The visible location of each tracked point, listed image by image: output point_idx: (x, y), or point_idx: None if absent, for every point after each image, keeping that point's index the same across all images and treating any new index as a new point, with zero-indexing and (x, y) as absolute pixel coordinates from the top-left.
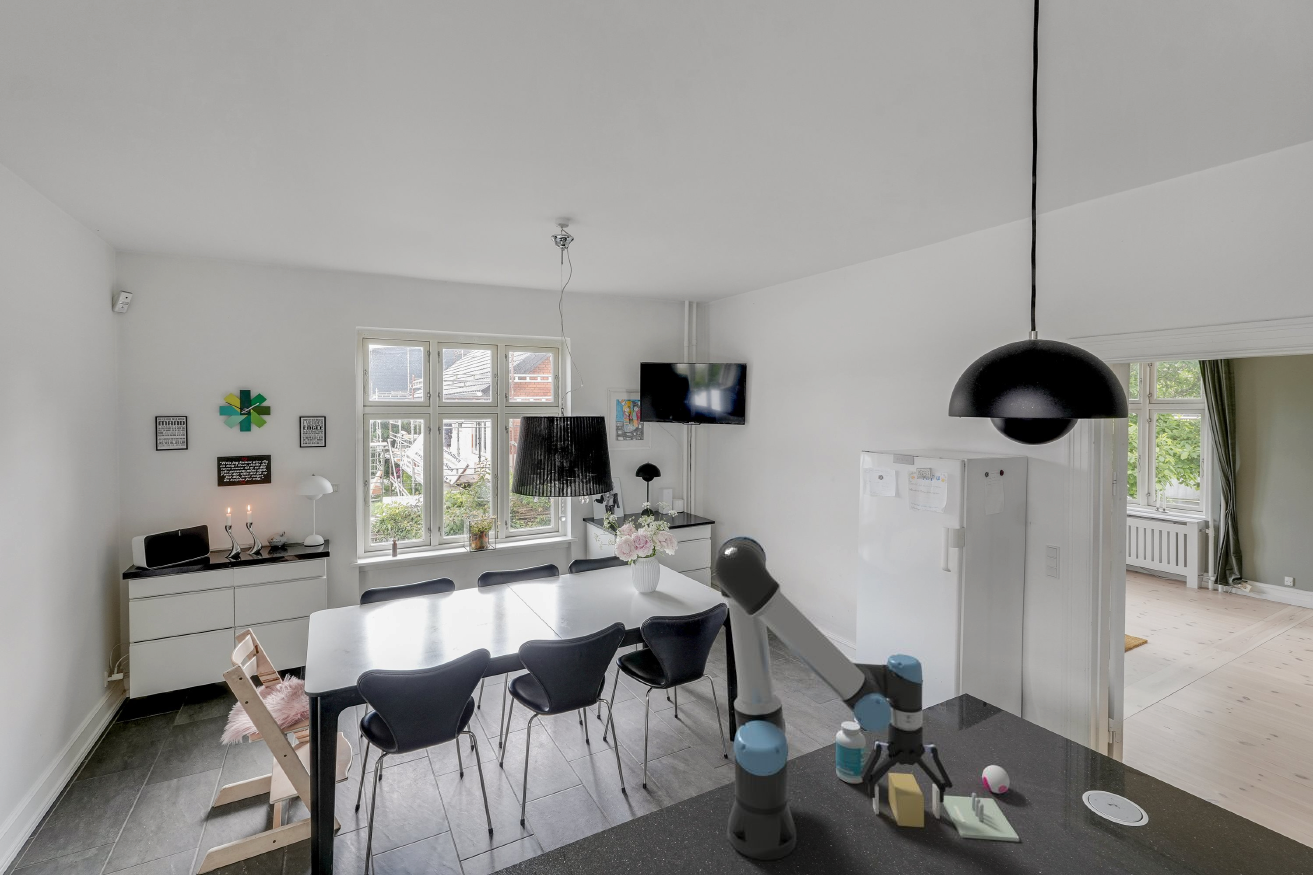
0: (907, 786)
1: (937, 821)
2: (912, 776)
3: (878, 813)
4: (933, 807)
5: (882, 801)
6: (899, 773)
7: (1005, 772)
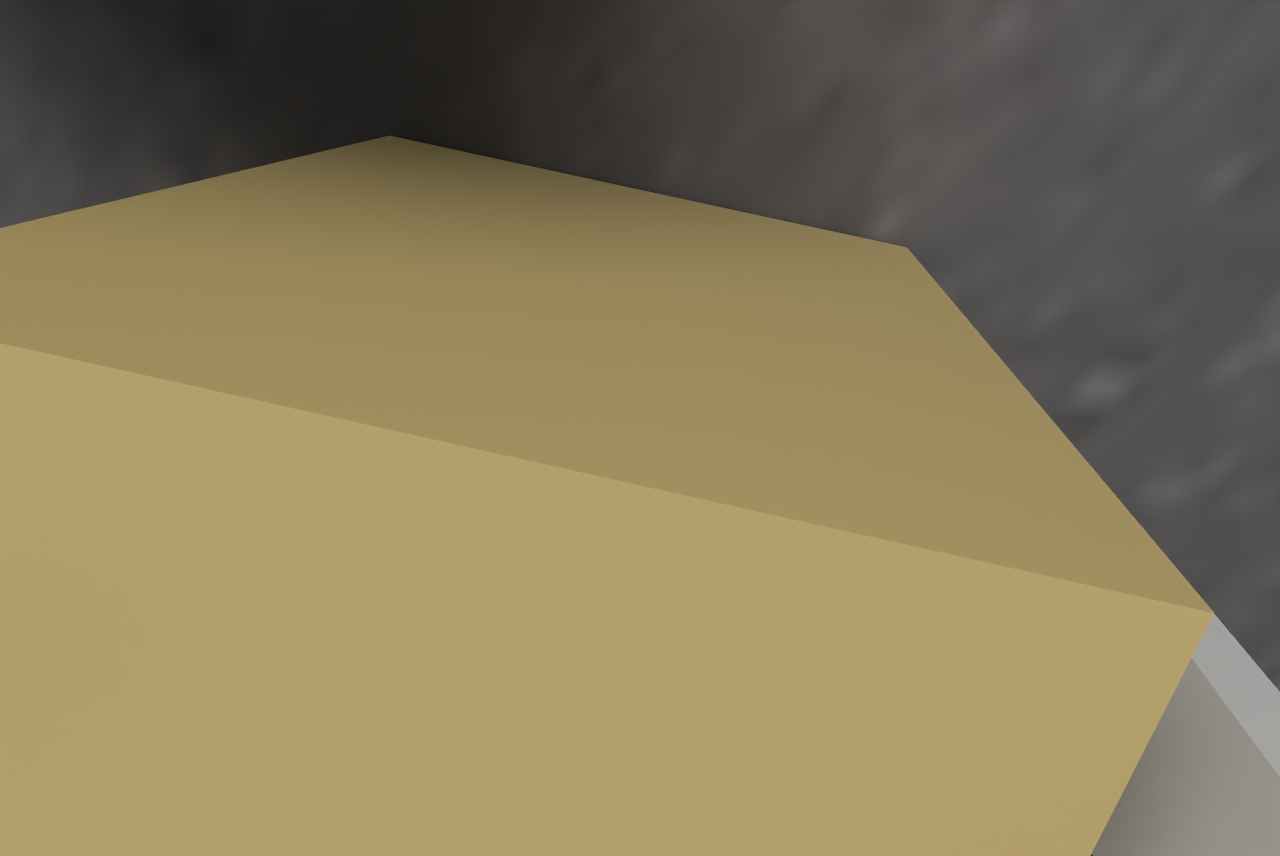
0: None
1: None
2: (1045, 780)
3: None
4: None
5: (251, 140)
6: (415, 431)
7: None
